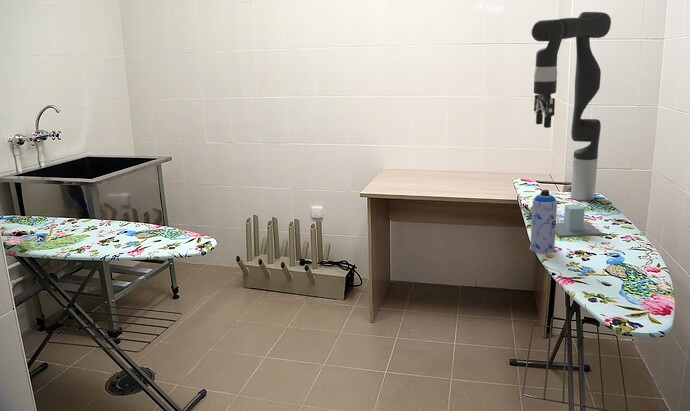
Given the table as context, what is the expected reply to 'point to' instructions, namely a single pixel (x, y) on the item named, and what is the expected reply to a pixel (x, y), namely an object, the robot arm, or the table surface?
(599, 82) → the robot arm
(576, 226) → the block
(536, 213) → the aerosol can
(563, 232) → the mat
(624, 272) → the table surface
